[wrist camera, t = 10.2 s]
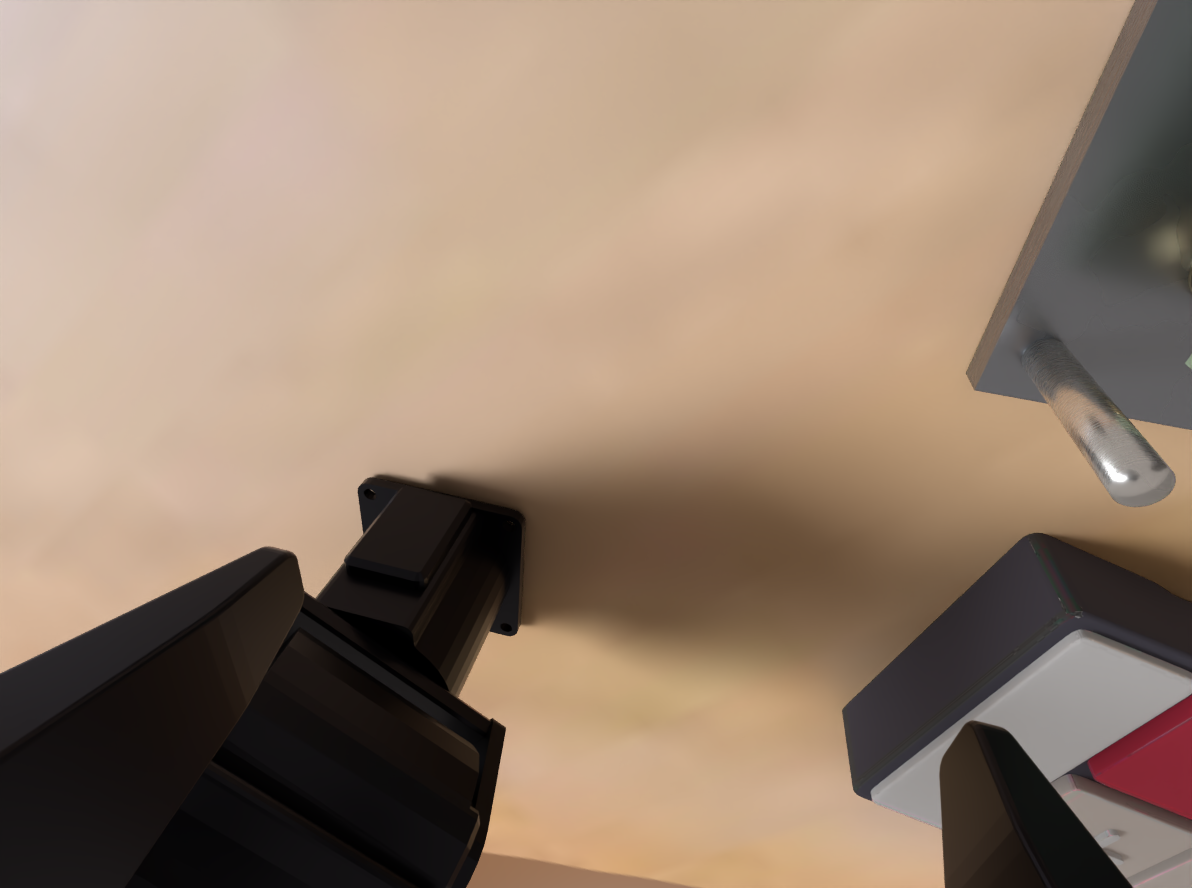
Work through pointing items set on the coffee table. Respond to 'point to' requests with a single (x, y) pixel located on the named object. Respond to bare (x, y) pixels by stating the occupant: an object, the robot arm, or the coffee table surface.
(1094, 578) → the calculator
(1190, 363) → the board
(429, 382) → the coffee table surface
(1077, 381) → the chassis
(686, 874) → the coffee table surface
